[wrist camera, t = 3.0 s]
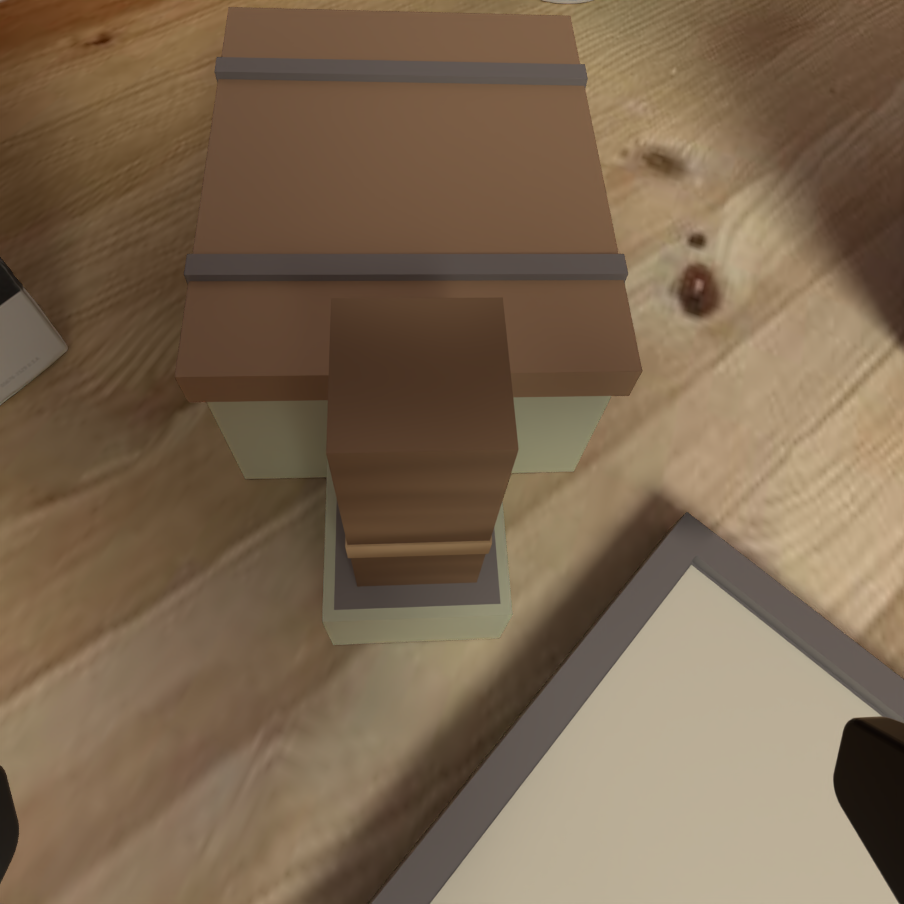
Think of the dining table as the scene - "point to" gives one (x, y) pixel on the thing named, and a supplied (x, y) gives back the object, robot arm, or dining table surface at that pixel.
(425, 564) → the wooden block
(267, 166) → the tool chest
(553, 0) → the chinaware
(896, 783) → the robot arm
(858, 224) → the dining table surface
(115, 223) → the dining table surface
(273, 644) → the dining table surface
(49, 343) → the tea box
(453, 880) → the felt tray
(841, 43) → the dining table surface
